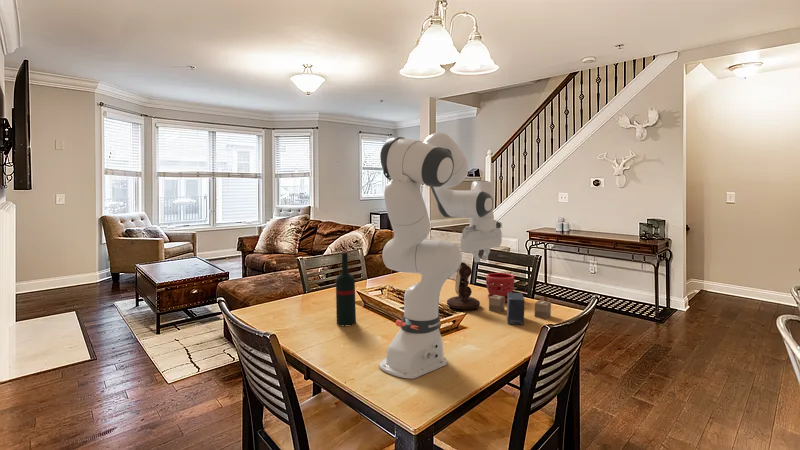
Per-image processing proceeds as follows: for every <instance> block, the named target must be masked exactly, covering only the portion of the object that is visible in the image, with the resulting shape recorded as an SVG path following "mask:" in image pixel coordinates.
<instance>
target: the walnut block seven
mask: <svg viewBox="0 0 800 450" xmlns="http://www.w3.org/2000/svg"><path fill="white" fill-rule="evenodd" d="M505 304H506V302H505V297H503V296H498V295H493V296H491V297H489V298H488V312H489V311H490V312H494V313H501V311H502V312H503V311H505Z"/></svg>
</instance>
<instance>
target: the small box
mask: <svg viewBox="0 0 800 450" xmlns="http://www.w3.org/2000/svg"><path fill="white" fill-rule="evenodd" d="M525 302H526V301H525V297H524V294H523V293H521V292H512V293H511V292H508V301H506V303H507V304H506V307H507V309H506V320H507V324H508V325H517V326H524V324H525Z"/></svg>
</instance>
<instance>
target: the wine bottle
mask: <svg viewBox="0 0 800 450" xmlns="http://www.w3.org/2000/svg"><path fill="white" fill-rule="evenodd" d="M347 252H348V250H347V249H342V253H341V264H342V266H341V267H342V268H341V270H342V273H340V274H339V275H337V277H336V278H335V298H336V299H335V301H336V303H335V305H336V308H335V309H336V325H337V324H339V325H344V326H343V327H346V326H345V325H351V326H353V325H352V324H354V323H355V324H356V323H357V317H356V314H357V312H356V309H357V308H356V283H355V281H356V279H355V278H354V276H353V274H351V273H350V272H349V265H348V264H349V263H348V262H349V261H348V260H349V259H348V256H349V255H348V253H347ZM355 324H354V325H355ZM339 325H338V326H339Z"/></svg>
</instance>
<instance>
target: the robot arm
mask: <svg viewBox="0 0 800 450" xmlns="http://www.w3.org/2000/svg"><path fill="white" fill-rule="evenodd" d="M379 155H380V156H379V157H380V158H379V159H380V164H381V167H382V170H383V172H382V173H383V175H384V177H385V178H386V179H387V180H389V182H388V183H387V185H386V186H385V187H384V190H383V191H384V192H383V193H384V204H385V209H386V212H387V217H388V219H389V221H390V226H391V228H392V231H393V238H391V239H389V240H388V241H387V242H386V244H385V245H384V247H383V250H382V253H381V254H382V256H381V257H382V262H383V263H384V265H385V267H386V268H387V269H389V270H393V271H395V272H398V273H408V274H417V275H418V274H419V275H421V276H420V277H421V279H420V281H418V282H417V283H414V284H412V285H410V286H409V287H407V288H406V290H405V293H404V295H403V296H404V297H403V300H404V301H403V303H404V304H403V306H404V310H403V311H404V314H403V316H402V318H401V320H400V319H396V321H395V326H396V327H400V329H399V331H398V332H397V334H396V335H395V336H394V338H393V339H392V340H391V342H390V343H389V345H388V346H387V350H386V357H385V358H383V360H381V361H380V362H379V363H378V367H379V369H380V370H381V371H383V372H385V373H386V374H390V375H392V376H395V377H398V378H403V379H410V380H411V379H417V378H418V377H421V376H423V375H426V374H428V373H430V372H432V371H435V370H438V369H439V368H443V367H444V366H446V365H447V364H448V363H447V362H448V361H447V359H446V358H445V355H444V354H445V352H444V344H443V343H444V342H443V341H444V340H443V337H442V334H441V331H440V327H441V316H440V314H439V313H440V312H439V308H440V307H439V305H440V293H441V290H442V288H443V285H444V284H445V283H446V281H447V280H448V279H449V278H450V277H451V276H452V275H454V274H455V273H457V272H456V271H457V270H458V269H459V267H460V265H461V262H462V261H463V257H462V252H463V253H471V254H472V255H473V259H474V263H480V262H481V261H488V260H489V255H490V253H491V249H494V248H499V247H500V246H501V245H502V239H503V238H502V237H503V235H502V234H503V233H502V228H503V222H500V221H498V220H497V219H495V216H494V207H495V191H494V190H495V189H494V185H493V182H491V181H488V180H474V181H472V182H471V186H470V189H469V190H468V189H466V190H455V189H450V188H455V187H458V186H459V185H460V184H461V183H463V182H464V180H465V179H466V177H467V175H468V172H469V163H468V161H467V159H466V156H465V155H464V153H463V151H462V149H461V148H460V147H459V146H458V144H457V142H455V140H454V139H453V138H452V137H451V136H450V135H448V134H447V133H445V132H434V133H431V134H430V135H428V136H427V137H426V138H425V139H424V140H423V141H421V140H417V139H413V138H412V139H411V138H405V137H403V136H395V137H391V138H388V139H387V140H386V141H385V142H384V144H383V145H382V147H381V150H380V154H379ZM421 185H425V186H427V187H430V190H431V191H432V194H433V196H434V199H435V201H436V203H437V208H438V212H439V213H440V214H441V215H442V216H443V217H444V218H469V225H468V226H467V225H466V226H465V227H464V228H463V229H462V233H461V237H460V244H459V246H458V245H457V244H456V243H453V242H451V241H447V240H442V239H427V237H428V235H429V234H430V232H431V229H432V227H431V220H430V218H429V214H428V210H427V207H426V204H425V200H424V198H423V195H422V192H421V188H422V187H421ZM482 250H483V255H481V256H480V255H479V253H480V251H482ZM479 256H480V257H479Z"/></svg>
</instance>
